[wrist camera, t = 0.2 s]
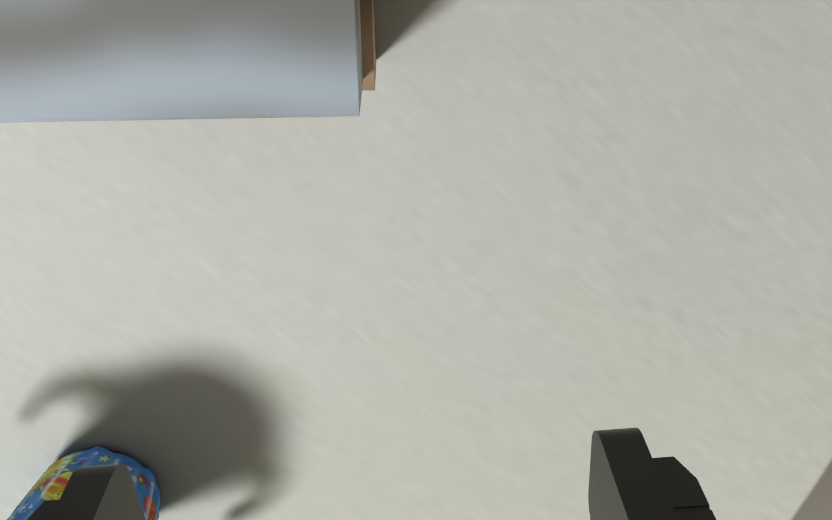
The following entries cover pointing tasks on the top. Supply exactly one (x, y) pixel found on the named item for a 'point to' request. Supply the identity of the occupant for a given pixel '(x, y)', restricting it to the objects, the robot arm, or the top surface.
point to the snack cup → (63, 468)
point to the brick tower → (184, 59)
